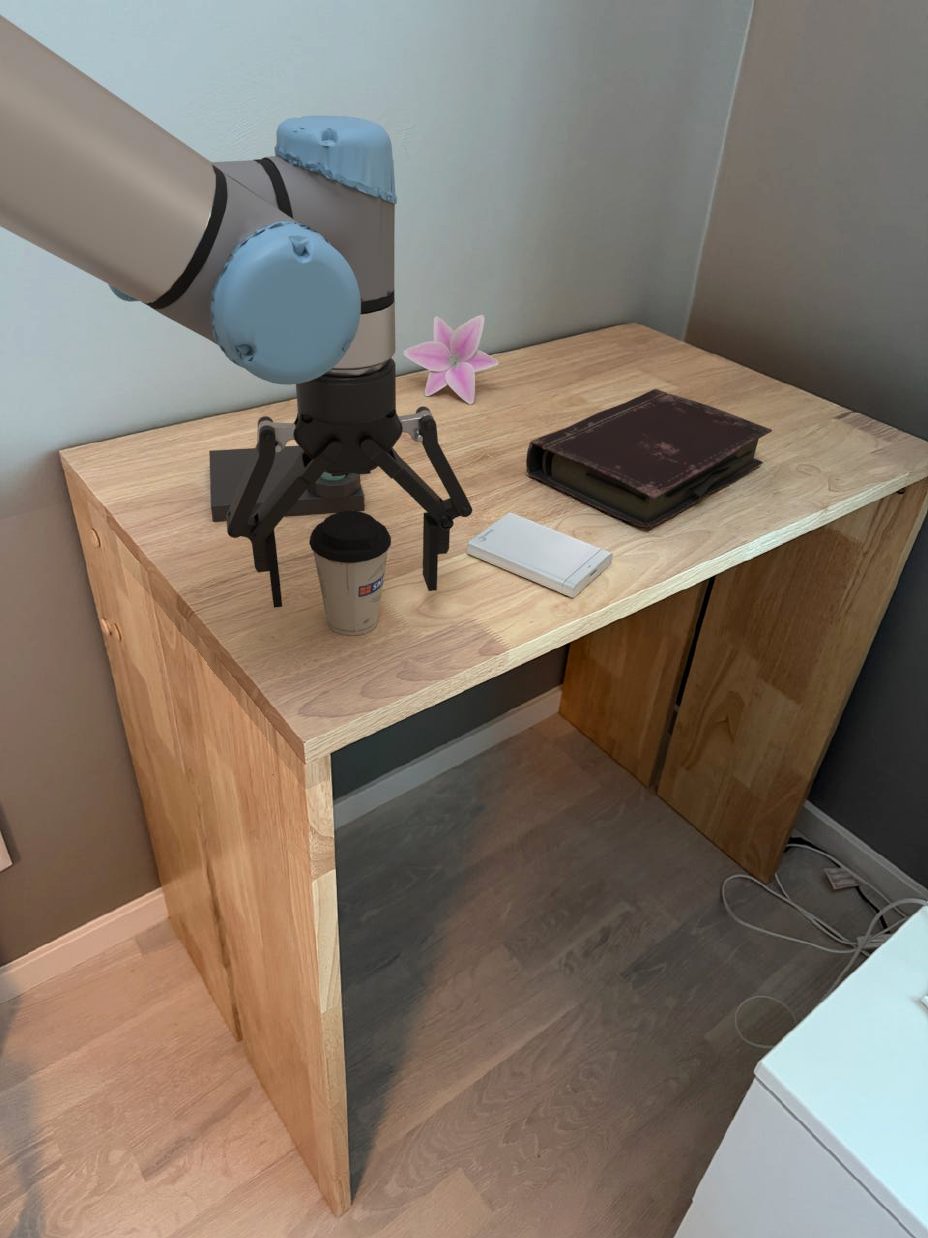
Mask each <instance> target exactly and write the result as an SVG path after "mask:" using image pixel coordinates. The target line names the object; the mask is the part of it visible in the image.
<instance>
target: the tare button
mask: <svg viewBox="0 0 928 1238" xmlns="http://www.w3.org/2000/svg"><path fill="white" fill-rule="evenodd" d="M320 477H321V478H322V479H325V480H340V479H343V478H345V477H346V475H343V476H334V477H332V475H331V474H329V473H326V472H324V473H323V474H322V475H321V476H320Z"/></svg>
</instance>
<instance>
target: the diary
mask: <svg viewBox="0 0 928 1238" xmlns="http://www.w3.org/2000/svg"><path fill="white" fill-rule="evenodd" d="M772 432H773V429H772V428H770V427H767V426H763V425H761V424H758V423H756V422H754V421H751V420H748V419H745V418H743V417H740V416H738V415H735V414H733V413H730V412H727V411H724V410H722V409H719V408H717V407H714V406H711V405H708V404H705V403H702V402H698V401H695V400H692V399H690V398H689V399H688V398H686V397H683V396H679V395H676V394H672V393H668V392H667V391H663V390H661V389H658V388H654V389H651V390H649V391H647V392H645V393H643V394H640V395H639V396H636V397H634V398H632V399H630V400H628V401H626V402H622V403H621V404H618V405H615V406H612V407H610V408H607V409H605V410H602V411H599V412H596V413H594V414H592V415H590V416H588V417H586V418H583V419H582V420H579V421H578V422H575V423H573V424H571V425H569V426H567V427H565V428H561V429H559V430H556V431H553V432H551V433H548V434H545V435H543V436H540V437H537V438H535V439H532V440H531V441H529V444H528V447H527V451H526V461H525V463H526V464H525V465H526V473H527V475H528V476H529V477H531V478H533V479H535V480H537V481H542V483H543V484H546V485H548V486H550V487H552V488H553V489H554V488H555V489H557V490H559V491H560V492H563V493H565V494H567V495H569V496H570V497H573V498H575V499H577V500H580V501H581V502H583V503H585V504H587V505H590V506H593V507H594V508H596V509H598V510H600V511H602V512H604V513H606V514H609V515H610V516H613V517H616V518H618V519H620V520H623V521H626V522H628V523H630V524H632V525H635V526H638V527H641V528H642V527H643V528H653V527H655V526H657V525H658V524H660V523H662V522H665V521H666V520H668V519H670V518H672V517H674V516H676V515H677V514H680V513H682V511H684V510H686V509H687V508H689V507H690V506H692V505H693V504H695V503H696V502H698V501H699V500H701V499H703V498H704V497H705V496H707V495H709V494H712V493H714V492H716V491H718V490H720V489H723V488H725V487H727V486H729V485H733V484H734V483H735V482H737V481H738V480H740V479H741V478H743V477H744V476H746V475H748V474H749V473H750V472H752V471H754V470H755V469H757V468H758V467H760V466H761V465H763V464H764V462H763V461H762V460H760V459H757V458H754V457H755V454H756V451H757V447H758V443H759V439H761V438H763V437H765V436H767V435H768V434H770V433H772Z"/></svg>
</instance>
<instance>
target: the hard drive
mask: <svg viewBox="0 0 928 1238" xmlns="http://www.w3.org/2000/svg"><path fill="white" fill-rule="evenodd" d="M466 554H468V555H470V556H472V557H474V558H477V559H479V560H482V561H484V562H486V563H488V564H491V565H494V566H496V567H498V568H499V569H500V568H501V569H503V570H506V571H508V572H510V573H513V574H515V575H517V576H520V577H522V578H524V579H527V580H529V581H532V582H534V583H536V584H539V585H541V586H543V587H545V588H548V589H550V590H553V591H556V592H557V593H559V594H562V595H565V596H568V597H569V598H575V597H576V596H577V595H579V594H580V593H581V592H582V591H583V590H584V589H585V588H587V586H588V585H589V584H590V583H591V582H593V581H594V580H595V579H597V577H598V576H599V575H600V574H602V573H603V572H604V571H606V569H608V568H609V566H611V564H612V563H613V562H612V561H613V555H614V553H613V552H611V551H610V550H607V549H604V548H602V547H599V546H596V545H594V544H591V543H588V542H587V541H583V540H581V539H578V538H576V537H573V536H571V535H569V534H566V533H564V532H561V531H558V530H556V529H554V528H551V527H549V526H547V525H544V524H540V523H538V522H536V521H533V520H531V519H529V518H526V517H523V516H520V515H518V514H516V513H513V512H507V513H506V514H505V515H503V516H502V517H500V518H499V519H498V520H496V521H495V522H494V523H491V525H490V526H487V528H486V529H484V530H482V531H481V532H479V533H478V534H477V535H476V536H474V537H473V538H471V539H470V540H469V541H468V542H467V545H466Z"/></svg>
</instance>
